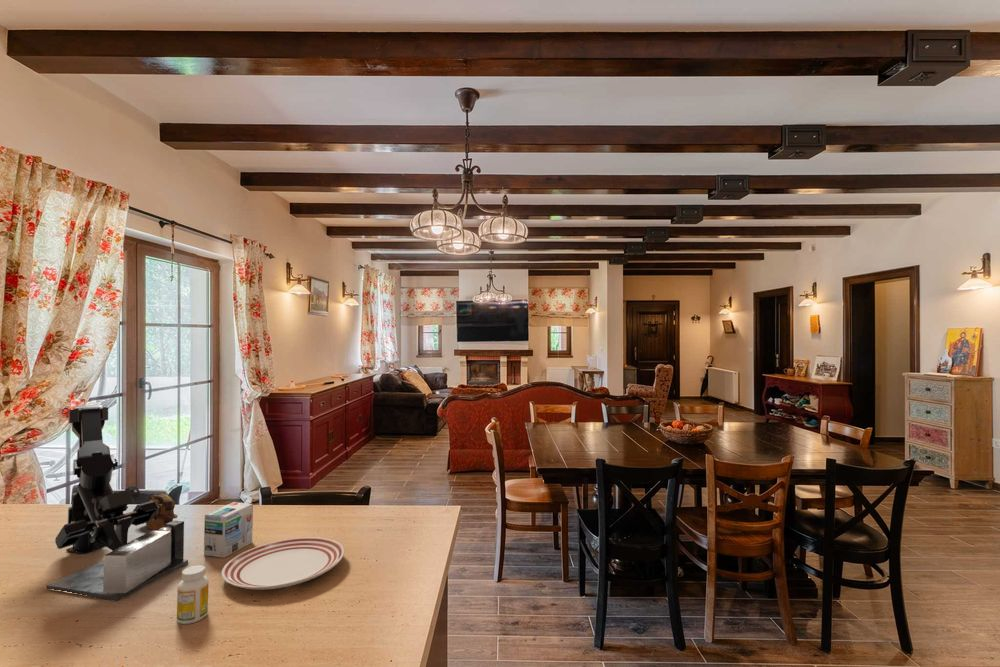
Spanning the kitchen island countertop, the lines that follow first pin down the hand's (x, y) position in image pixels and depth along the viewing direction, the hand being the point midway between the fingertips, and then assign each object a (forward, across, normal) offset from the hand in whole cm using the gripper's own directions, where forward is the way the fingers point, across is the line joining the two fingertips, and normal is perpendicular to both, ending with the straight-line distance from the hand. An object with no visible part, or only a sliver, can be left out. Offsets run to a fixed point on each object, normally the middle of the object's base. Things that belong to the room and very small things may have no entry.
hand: (124, 553), depth 110 cm
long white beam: (+5, +3, +3) cm, 7 cm away
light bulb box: (+7, +24, +3) cm, 25 cm away
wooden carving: (-15, +23, +26) cm, 37 cm away
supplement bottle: (+24, -1, -14) cm, 28 cm away
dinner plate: (+24, +22, -14) cm, 35 cm away
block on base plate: (+1, +2, +9) cm, 10 cm away
